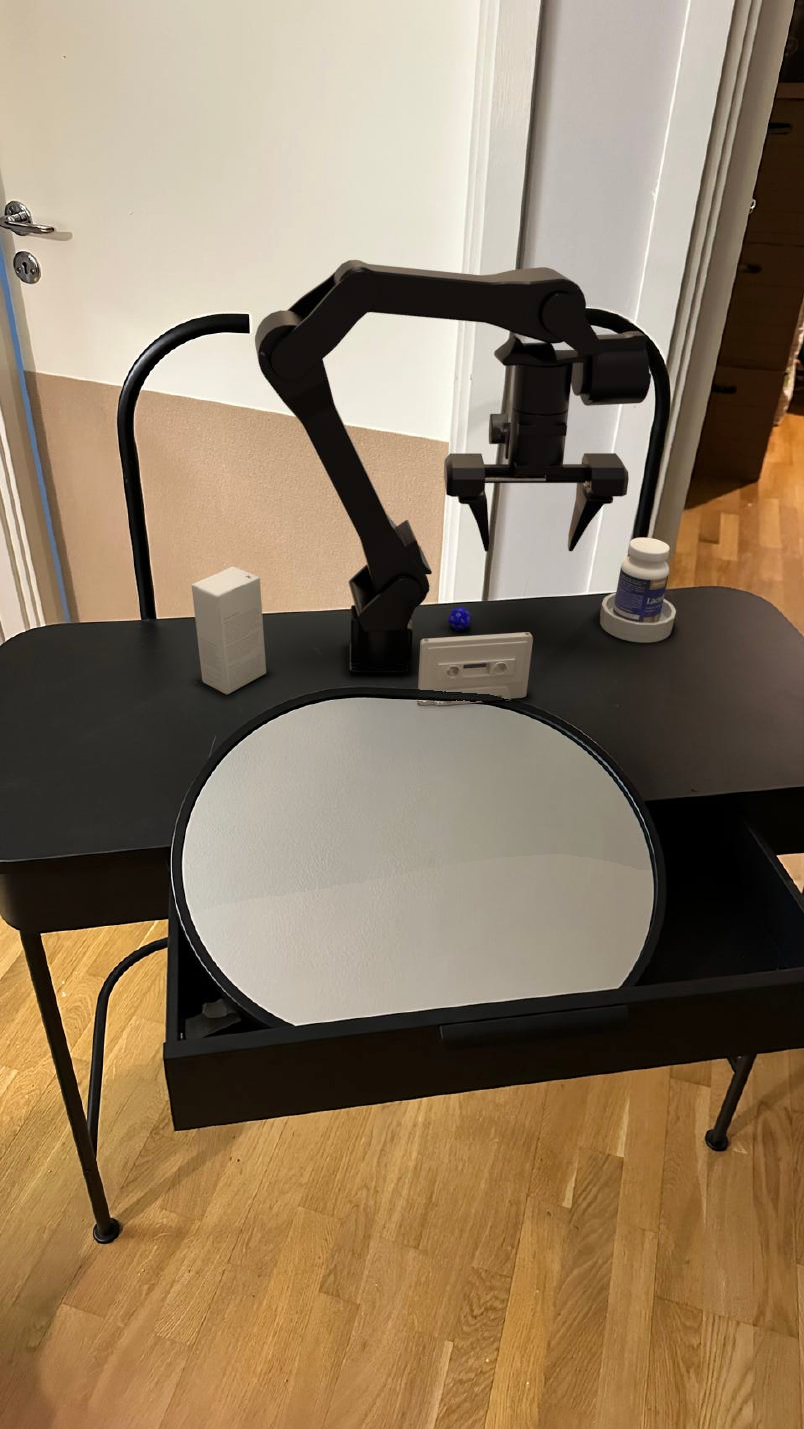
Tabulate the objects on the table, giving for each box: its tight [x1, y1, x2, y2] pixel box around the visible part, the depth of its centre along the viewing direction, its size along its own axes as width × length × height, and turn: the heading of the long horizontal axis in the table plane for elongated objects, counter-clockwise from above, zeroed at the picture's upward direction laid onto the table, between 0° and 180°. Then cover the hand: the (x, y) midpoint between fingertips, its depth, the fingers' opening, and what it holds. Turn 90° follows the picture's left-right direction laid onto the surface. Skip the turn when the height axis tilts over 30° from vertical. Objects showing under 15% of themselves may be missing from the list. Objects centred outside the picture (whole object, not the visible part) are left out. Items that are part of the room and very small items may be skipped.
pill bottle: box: [613, 537, 670, 623], centre depth 118 cm, size 6×6×10 cm
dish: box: [599, 592, 677, 644], centre depth 121 cm, size 9×9×2 cm
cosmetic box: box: [191, 566, 267, 695], centre depth 105 cm, size 6×4×12 cm
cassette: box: [417, 631, 534, 707], centre depth 104 cm, size 12×2×8 cm, turn 100°
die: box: [447, 606, 473, 632], centre depth 119 cm, size 3×3×3 cm
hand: (528, 550), depth 108 cm, fingers open, 9 cm apart
